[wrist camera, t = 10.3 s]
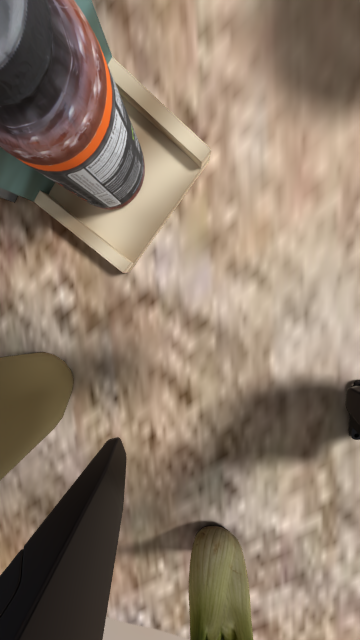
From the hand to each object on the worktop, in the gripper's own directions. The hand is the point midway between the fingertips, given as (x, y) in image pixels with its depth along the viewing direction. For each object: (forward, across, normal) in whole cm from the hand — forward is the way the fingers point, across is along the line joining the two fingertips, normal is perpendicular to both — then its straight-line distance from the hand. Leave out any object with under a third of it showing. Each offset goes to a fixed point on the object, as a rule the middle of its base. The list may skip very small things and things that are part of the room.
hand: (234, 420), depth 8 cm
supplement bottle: (+13, +4, -14) cm, 19 cm away
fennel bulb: (+11, +2, +27) cm, 29 cm away
